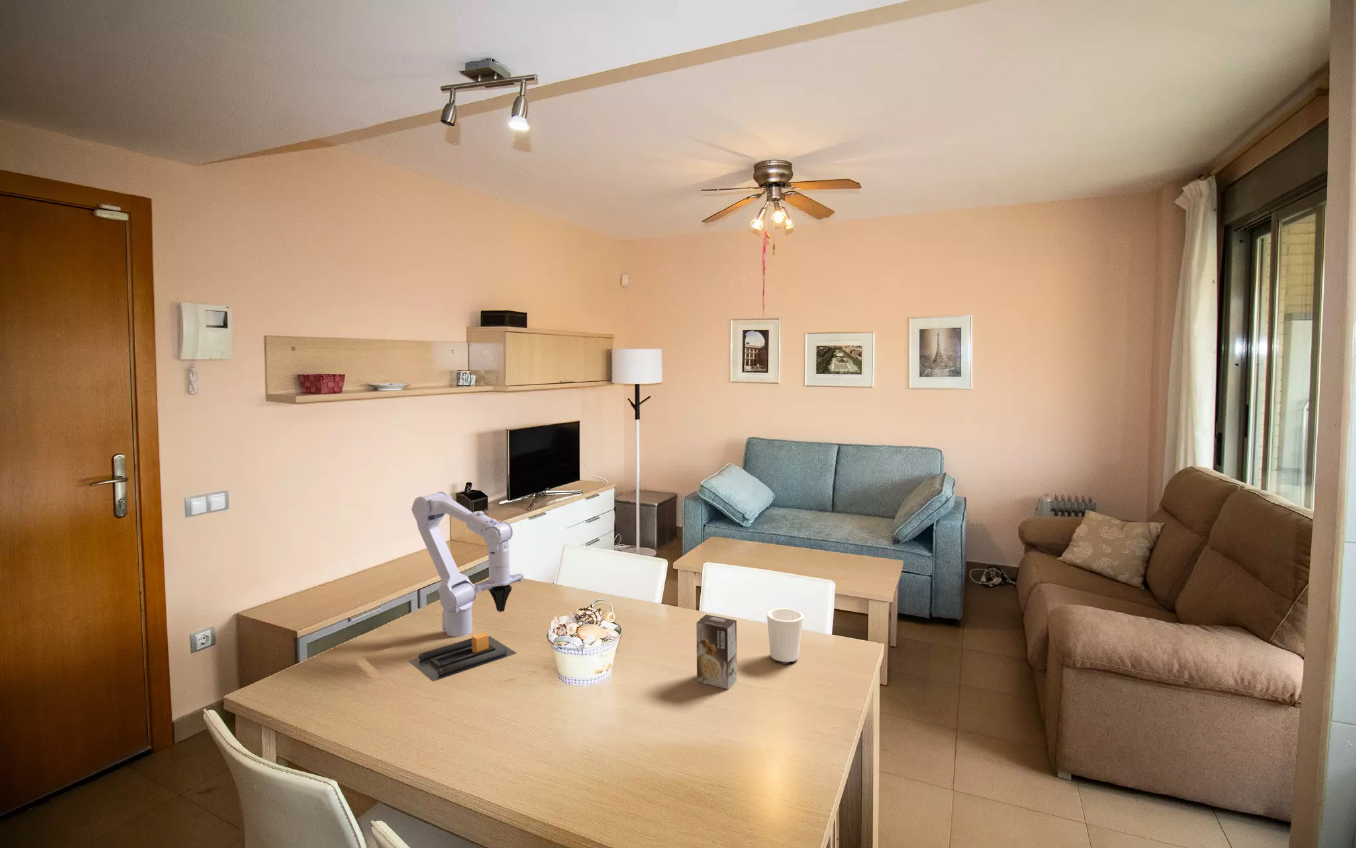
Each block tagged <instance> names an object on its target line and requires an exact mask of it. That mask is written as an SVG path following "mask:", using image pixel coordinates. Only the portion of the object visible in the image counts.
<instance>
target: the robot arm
mask: <svg viewBox="0 0 1356 848" xmlns="http://www.w3.org/2000/svg"><path fill="white" fill-rule="evenodd" d="M410 510H411V512H412V514H413V516H414V518H415V521H416V523H417V524H416V525H417V529H418V531H419V533H420V536H421V538H422V540H423V542H424V544H425V547H426V549H427V551H428V553H429V555H430V558H431V560H432V562H433V565H434V567H435V569H436V572H437V573H438V576H439V578H440V580H441V583H440V585H439V586H438V589H437V592H438V595H439V601H440V605H441V607H442V613H441V615H442V616H441V620H442V622H441V623H442V632H440V634H443V633H446V635H448V636H450V637H455V638H459V637H461V638H462V637H464V636H468V635H470V634H472V632H473V609H472V608H473V607H472V606H473V605H474V601H475V600H476V598H477V596H478V593H482V592H484V591H488V592H489V593H490V595H491V597H492V599H493V600H494V601H493V602H494V604H495V608H496V611H497V612H499V613H502V612H505V609H506V604H507V600H508V598H509V595H510V594H511V592H512V588H513V586H511V584H515V583H522V582H524V576H525V575H524V574H522V573H516V574H510V544H509V543H510V540H511V539H512V537H513V535H514V532H513V528H512V526H511V524H509V523H508V522H507V521H506V520H505V521H504V520H501V521H498V520H497V519H495V518H492V517H490V516H488V515H486V514H485V512H484V511H482V510H479V511H478V510H477V511H474V512H473V511H471V510H469V509H468V508H467V507H465V506H463V505H462V504H461V503H459V502H457V501H455V500H454V499H453V498H452V495H451V494H448V493H446V492H445V491H438V492H436V493H432V494H428V495H423V496H418V497H416V498H415V499H414V501H413V504H412V507H411V509H410ZM445 515H449V516H451V517H453V518H455V519H457V520H459V521H461V522H463V523H465V524H466V528H467V529H468V530H470V531H472V532H473V533H475V534H477V535H478V536H480V537H482V538H483V541H484V542H485V544H486V549H487V551H488V577H489V578H488V579H487V580H485V581H482V582H480V583H476V584H473V582H471V580H470V578H469V576H468V575H466V574H463V573H461V572H460V571H459V568H458V566H457V563H456V562H455V560H454V558H453V555H452V553H451V551H450V549H449V546H448V544H447V542H446V539H445V538H444V535H443V533H442V531H441V529H440V527H439V525H440V522H441V521H442V519H443V518H444V517H445Z"/></svg>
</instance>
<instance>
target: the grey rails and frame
mask: <svg viewBox="0 0 1356 848" xmlns="http://www.w3.org/2000/svg"><path fill="white" fill-rule="evenodd" d="M470 645H472V637H471V638H467V639H465V640H460V641H459V642H458V641H457V642H455V643H451V644H448V645H444V646H441V647H438V648H435V649H431V650H427V651H425V652H421V653H419V654H418V658H419V659H420V660H424V659H428V658H431V657H434V656H437V655H441V654H444V653H447V652H450V651H454V650H457V649H460V648H463V647H467V646H470ZM506 653H507V649H506V648H501V649H498V650H495V651H492V652H488V653H485V654H482V655H479V656H476V657H473V658H470V659H467V660H464V661H460V662H457V663H454V664H451V665H448V666H445V667H442V668H439V669H438V671H437V673H438V675H443V674H446V673H449V672H452V671H455V670H459V669H462V668H465V667H468V666H471V665H474V664H477V663H480V662H483V661H486V660H489V659H492V658H495V657H498V656H501V655H504V654H506Z"/></svg>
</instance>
